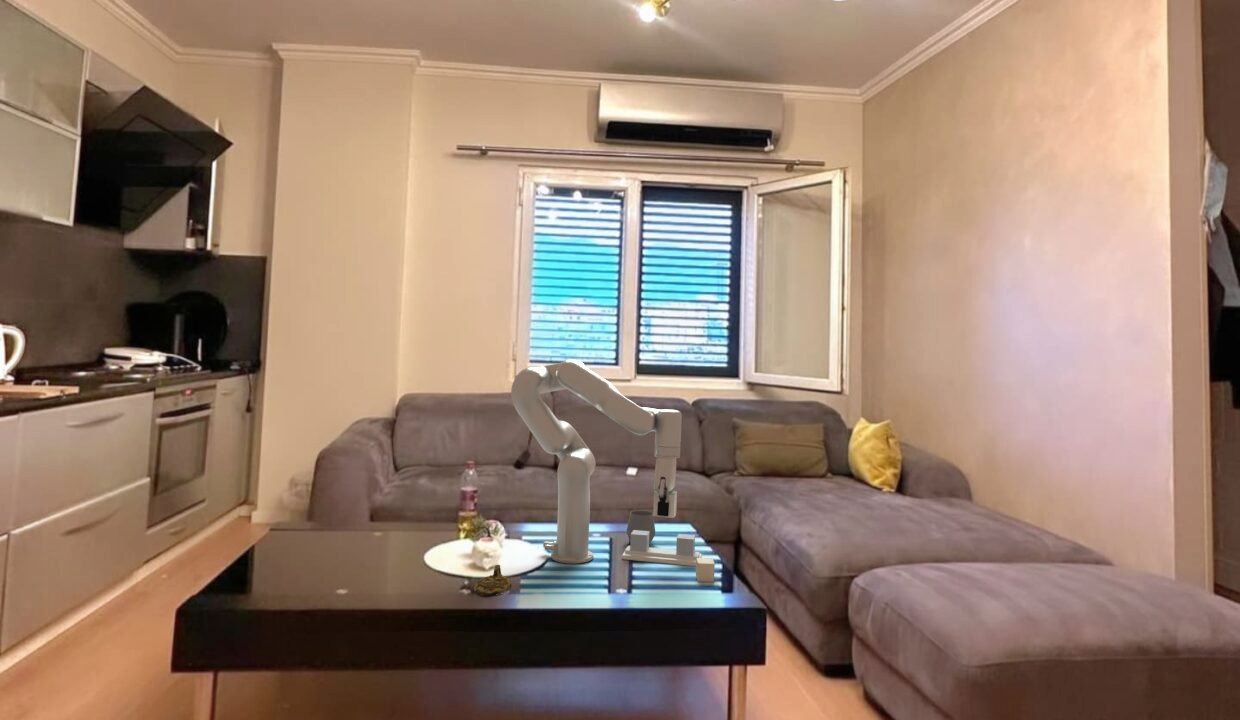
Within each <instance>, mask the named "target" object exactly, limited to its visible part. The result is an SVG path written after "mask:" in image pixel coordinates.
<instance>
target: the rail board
mask: <svg viewBox="0 0 1240 720" xmlns="http://www.w3.org/2000/svg"><path fill="white" fill-rule="evenodd" d="M649 533H650V531H640V530H633V531H632V533H631V537H630V540H629V542H630V543H629V544H630V545H627V547H626V548H625V549H624V552H623V553H622V554H621V559H622V560H627V561H628V560H629V561H639V562H650V563H660V564H671V565H681V566H682V565H683V566H693V567H696V558H702V555H703V554H702V553H700V551H695V550H696V549H695V548H696V547H695V546H696V535H695V534H686V533H678V534H677V536H676V548H675V549H669V548H658V547H650V544H649Z"/></svg>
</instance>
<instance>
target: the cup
mask: <svg viewBox="0 0 1240 720" xmlns="http://www.w3.org/2000/svg"><path fill="white" fill-rule="evenodd" d="M654 517H655V516H653V511H648V510H631V511H630V513H629V516H628V521H627V527H626V535H627V537H628V539H629V541H630V537H631V533H632V531H633V530H640V531H650V533H649V545H650V544H651V543H652V542H653V540H654V538H655V536H656V526H655V519H654Z"/></svg>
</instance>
